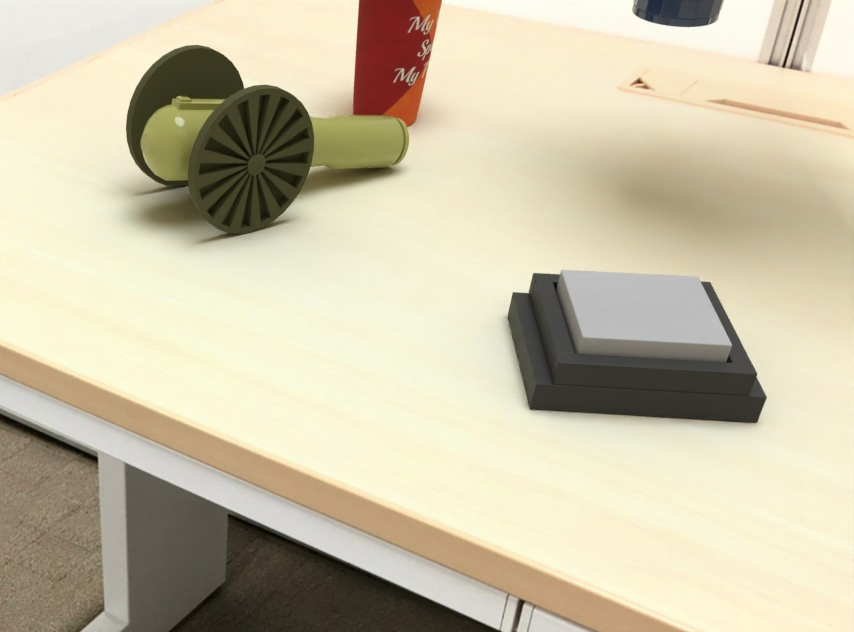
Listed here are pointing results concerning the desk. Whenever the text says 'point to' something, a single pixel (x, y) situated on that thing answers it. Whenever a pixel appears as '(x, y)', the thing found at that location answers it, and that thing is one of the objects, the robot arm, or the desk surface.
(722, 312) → the scale
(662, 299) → the pan
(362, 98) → the coffee cup
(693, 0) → the small cup
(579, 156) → the desk surface
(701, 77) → the desk surface
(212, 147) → the cannon
